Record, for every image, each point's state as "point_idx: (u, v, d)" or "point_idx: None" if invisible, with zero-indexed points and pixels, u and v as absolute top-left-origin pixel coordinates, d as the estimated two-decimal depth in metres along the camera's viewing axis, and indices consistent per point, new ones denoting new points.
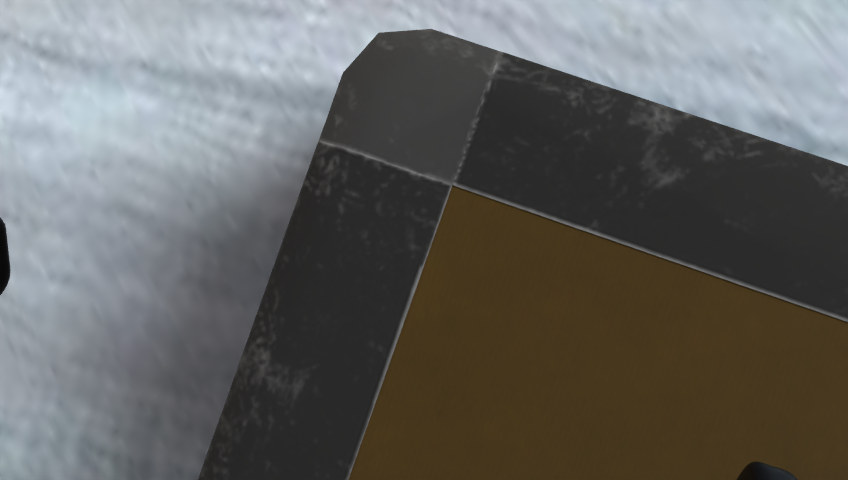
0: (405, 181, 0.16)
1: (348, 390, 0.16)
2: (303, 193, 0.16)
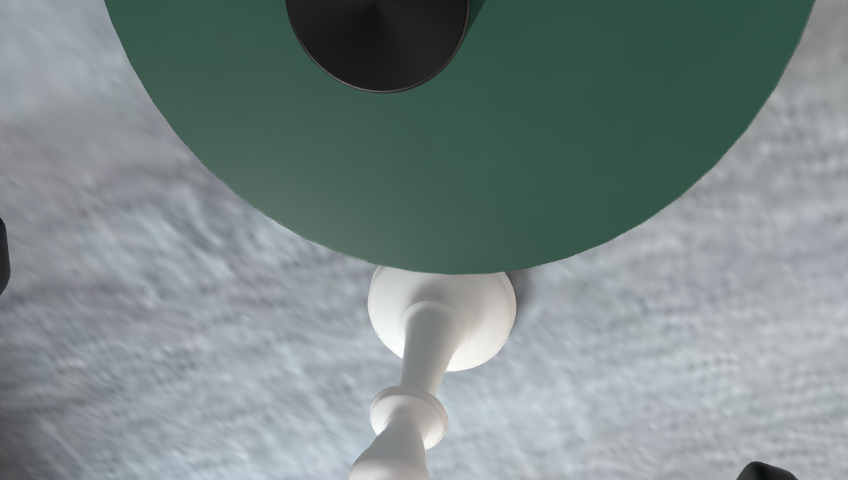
0: None
1: None
2: None
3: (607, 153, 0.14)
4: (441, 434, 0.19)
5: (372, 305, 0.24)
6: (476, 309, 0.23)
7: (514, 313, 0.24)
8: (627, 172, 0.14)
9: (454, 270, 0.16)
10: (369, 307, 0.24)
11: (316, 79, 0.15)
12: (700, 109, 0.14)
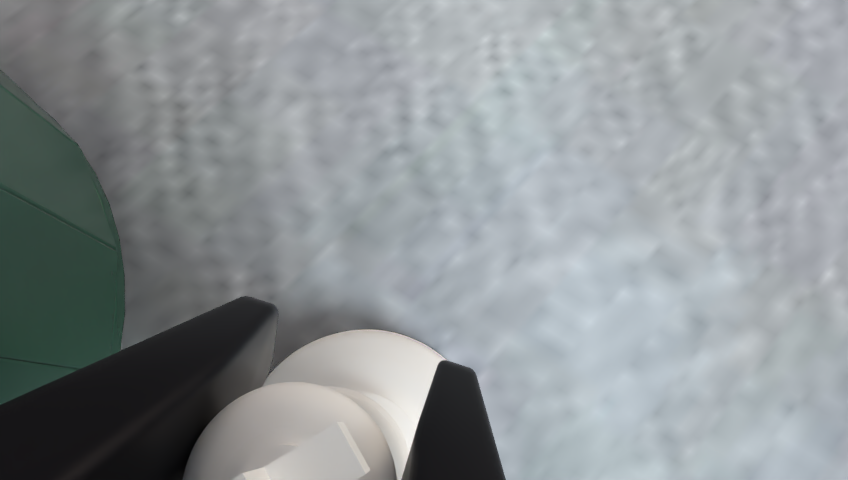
0: None
1: None
2: None
3: None
4: (361, 401, 0.09)
5: None
6: (339, 380, 0.14)
7: (388, 333, 0.15)
8: None
9: None
10: None
11: None
12: None
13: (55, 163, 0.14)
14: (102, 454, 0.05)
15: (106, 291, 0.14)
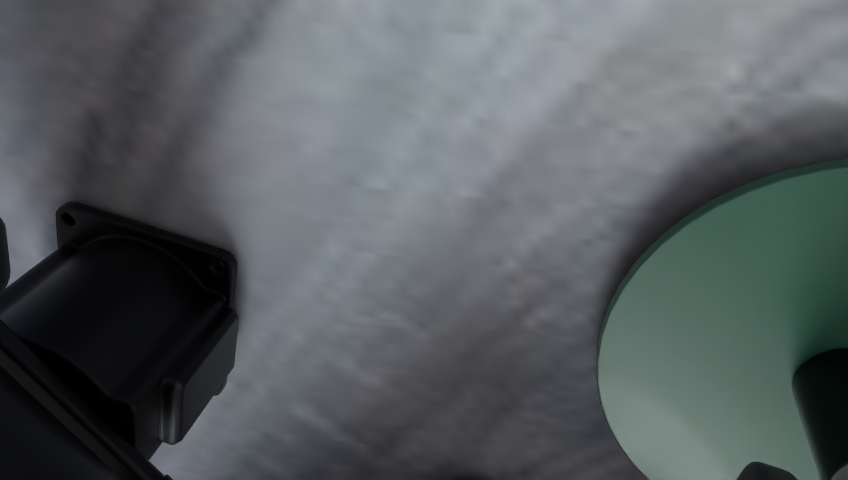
0: None
1: None
2: None
3: None
4: None
5: None
6: None
7: None
8: None
9: None
10: None
11: (729, 421, 0.22)
12: None
13: None
14: None
15: None
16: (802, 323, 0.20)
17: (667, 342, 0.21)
